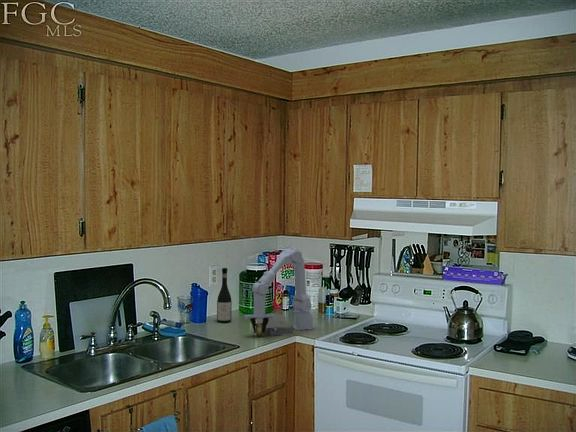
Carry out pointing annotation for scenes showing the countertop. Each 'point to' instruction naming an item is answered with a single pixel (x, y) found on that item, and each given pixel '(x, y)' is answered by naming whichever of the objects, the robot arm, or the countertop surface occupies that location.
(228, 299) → the wine bottle
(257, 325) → the pin
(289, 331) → the lip
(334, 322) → the countertop surface
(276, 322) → the hinge
